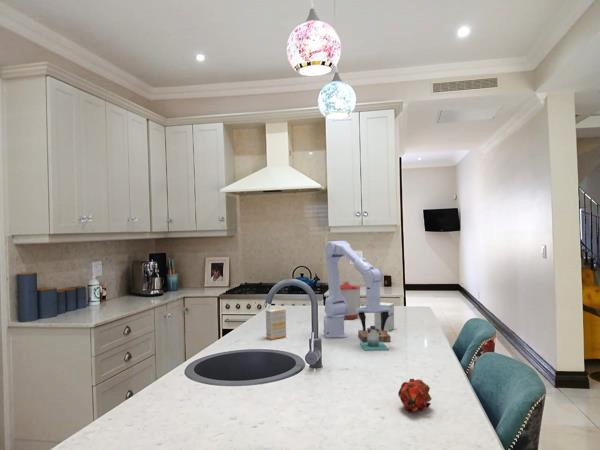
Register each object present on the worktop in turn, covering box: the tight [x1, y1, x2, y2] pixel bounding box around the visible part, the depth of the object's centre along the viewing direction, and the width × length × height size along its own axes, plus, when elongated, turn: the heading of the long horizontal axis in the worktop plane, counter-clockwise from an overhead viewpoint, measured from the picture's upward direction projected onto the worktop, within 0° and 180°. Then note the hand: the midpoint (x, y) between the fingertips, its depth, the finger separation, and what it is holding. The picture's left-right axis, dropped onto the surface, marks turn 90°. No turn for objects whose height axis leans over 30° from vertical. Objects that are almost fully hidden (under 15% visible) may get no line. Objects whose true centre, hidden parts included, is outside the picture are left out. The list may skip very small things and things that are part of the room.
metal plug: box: [366, 325, 379, 347], centre depth 181 cm, size 5×5×8 cm
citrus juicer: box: [333, 281, 361, 320], centre depth 239 cm, size 16×17×20 cm
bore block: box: [357, 329, 392, 343], centre depth 193 cm, size 12×12×2 cm
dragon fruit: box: [397, 378, 432, 413], centre depth 119 cm, size 8×8×12 cm
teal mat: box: [359, 342, 389, 352], centre depth 180 cm, size 10×10×1 cm
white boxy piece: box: [373, 301, 395, 333], centre depth 211 cm, size 7×7×13 cm
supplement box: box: [265, 307, 287, 341], centre depth 197 cm, size 8×5×13 cm, turn 124°
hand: (373, 330), depth 180 cm, fingers open, 7 cm apart
